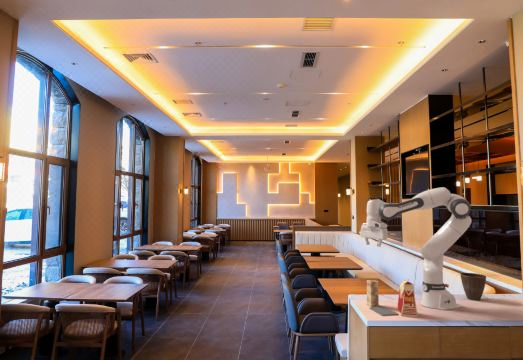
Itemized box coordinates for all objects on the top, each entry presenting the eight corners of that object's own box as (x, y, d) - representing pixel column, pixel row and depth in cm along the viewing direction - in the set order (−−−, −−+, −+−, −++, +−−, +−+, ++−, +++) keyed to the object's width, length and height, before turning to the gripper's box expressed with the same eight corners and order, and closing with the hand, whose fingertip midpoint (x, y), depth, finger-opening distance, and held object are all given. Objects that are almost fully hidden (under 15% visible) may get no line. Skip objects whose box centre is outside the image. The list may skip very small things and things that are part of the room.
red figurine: (418, 316, 192) (417, 280, 193) (401, 316, 193) (400, 279, 194) (413, 312, 201) (412, 277, 202) (396, 311, 202) (396, 276, 203)
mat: (384, 307, 208) (384, 306, 208) (398, 314, 195) (398, 313, 195) (369, 308, 206) (369, 307, 206) (382, 315, 193) (382, 314, 193)
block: (374, 304, 215) (373, 279, 216) (378, 306, 210) (378, 281, 211) (366, 304, 214) (366, 280, 215) (371, 307, 209) (370, 281, 210)
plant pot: (492, 302, 223) (491, 277, 224) (468, 302, 224) (468, 277, 225) (478, 296, 238) (477, 273, 239) (456, 296, 239) (455, 272, 240)
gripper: (358, 222, 230) (357, 243, 229) (382, 225, 212) (382, 247, 211) (365, 222, 233) (365, 243, 232) (389, 225, 215) (389, 247, 214)
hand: (373, 245), depth 221 cm, fingers open, 8 cm apart
